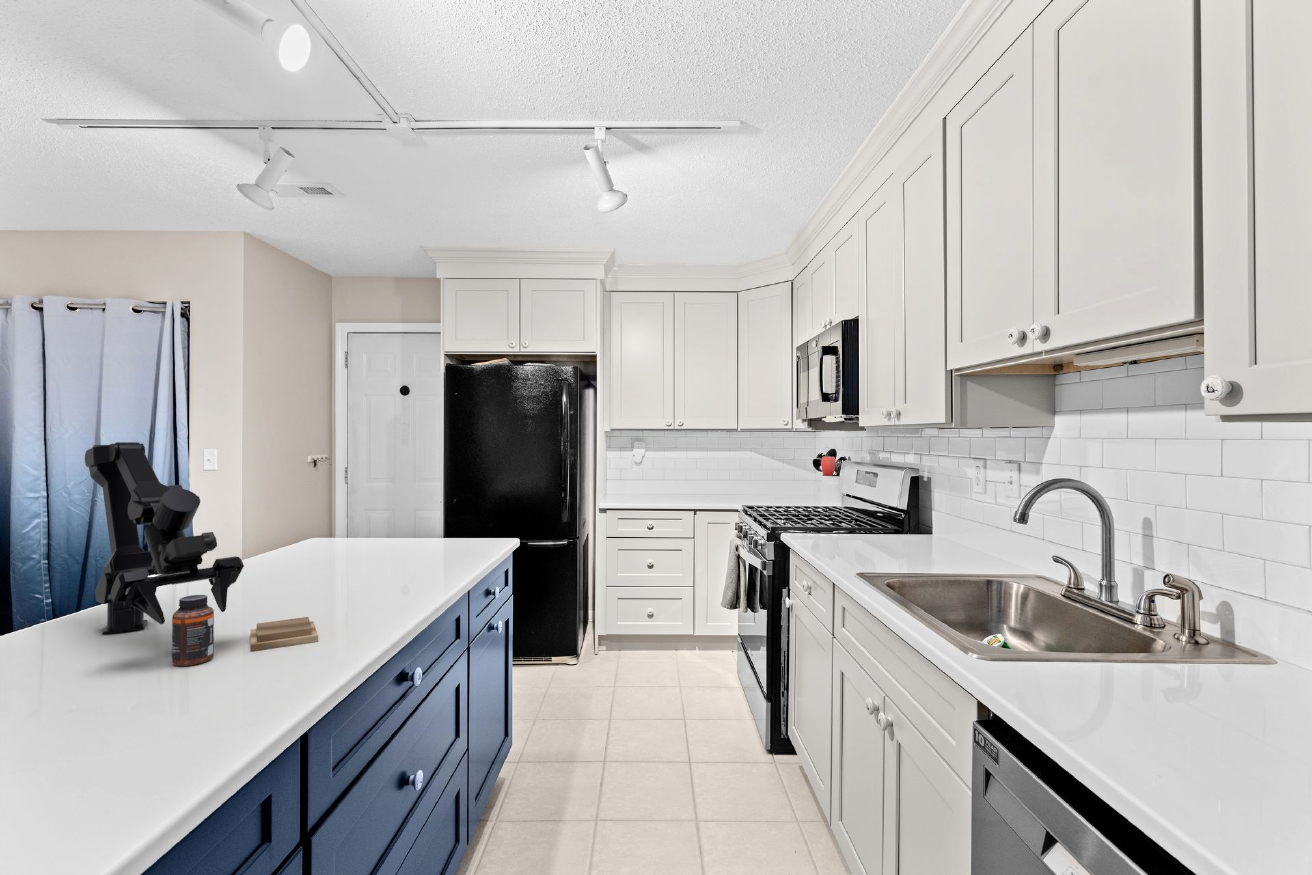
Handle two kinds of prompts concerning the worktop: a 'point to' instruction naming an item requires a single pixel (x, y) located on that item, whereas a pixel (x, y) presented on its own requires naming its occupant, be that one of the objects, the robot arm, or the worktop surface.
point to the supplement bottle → (192, 631)
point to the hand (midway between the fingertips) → (194, 616)
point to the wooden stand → (283, 633)
